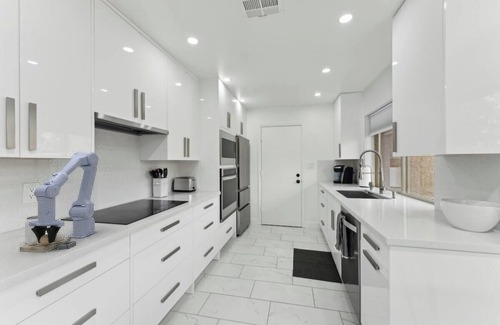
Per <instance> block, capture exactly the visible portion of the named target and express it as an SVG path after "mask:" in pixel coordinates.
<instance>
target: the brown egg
mask: <svg viewBox="0 0 500 325" xmlns="http://www.w3.org/2000/svg"><path fill="white" fill-rule="evenodd" d="M40 243H41V244H43V245H47V244H50V243H49V242H48V234H46V235H43V236H42V237H41V238H40Z"/></svg>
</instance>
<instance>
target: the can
mask: <svg viewBox="0 0 500 325" xmlns="http://www.w3.org/2000/svg"><path fill="white" fill-rule="evenodd" d="M31 221H38V215H33V216H29V217H26V219H25V221H24V243H25V245H28V244H30V243H33V242H36V241H38V240H37V237H36V235H35V234H34V232H33V231H32V230H31V228H34V227H35V226H29V222H31Z"/></svg>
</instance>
